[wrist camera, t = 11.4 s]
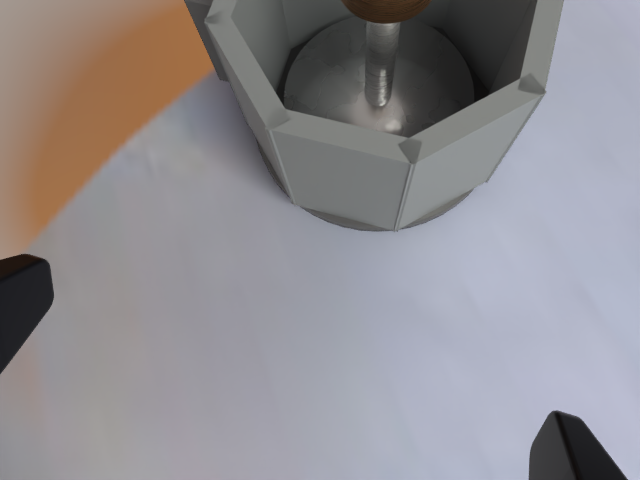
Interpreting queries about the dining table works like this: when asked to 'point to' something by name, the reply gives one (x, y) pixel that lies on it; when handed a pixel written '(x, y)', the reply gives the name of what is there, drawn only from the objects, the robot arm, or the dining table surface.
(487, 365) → the dining table surface
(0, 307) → the robot arm
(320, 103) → the plunger
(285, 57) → the press jug
